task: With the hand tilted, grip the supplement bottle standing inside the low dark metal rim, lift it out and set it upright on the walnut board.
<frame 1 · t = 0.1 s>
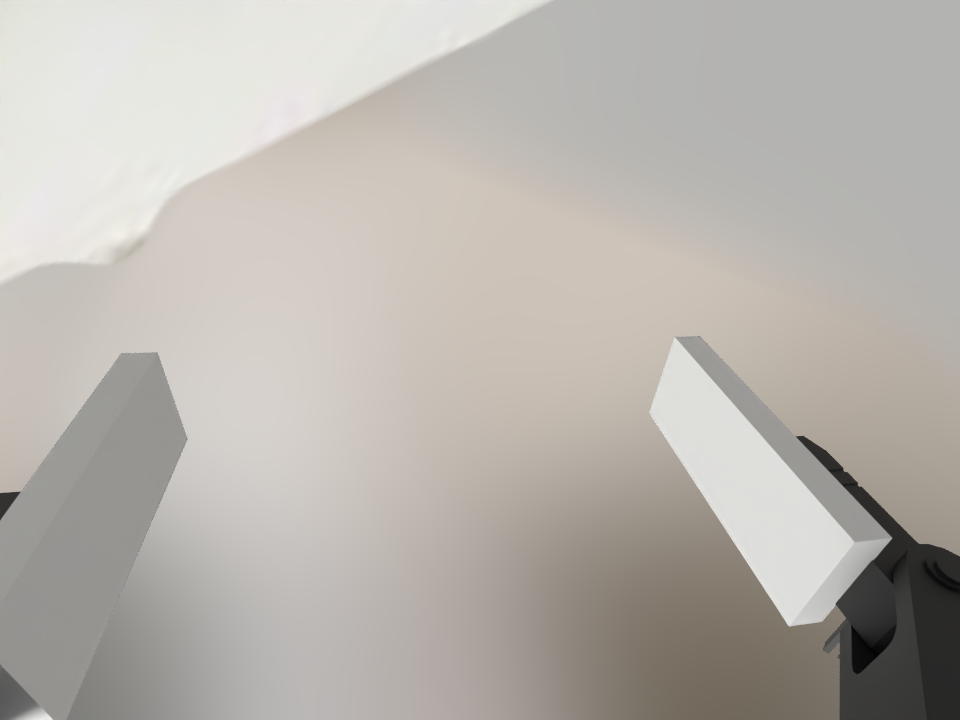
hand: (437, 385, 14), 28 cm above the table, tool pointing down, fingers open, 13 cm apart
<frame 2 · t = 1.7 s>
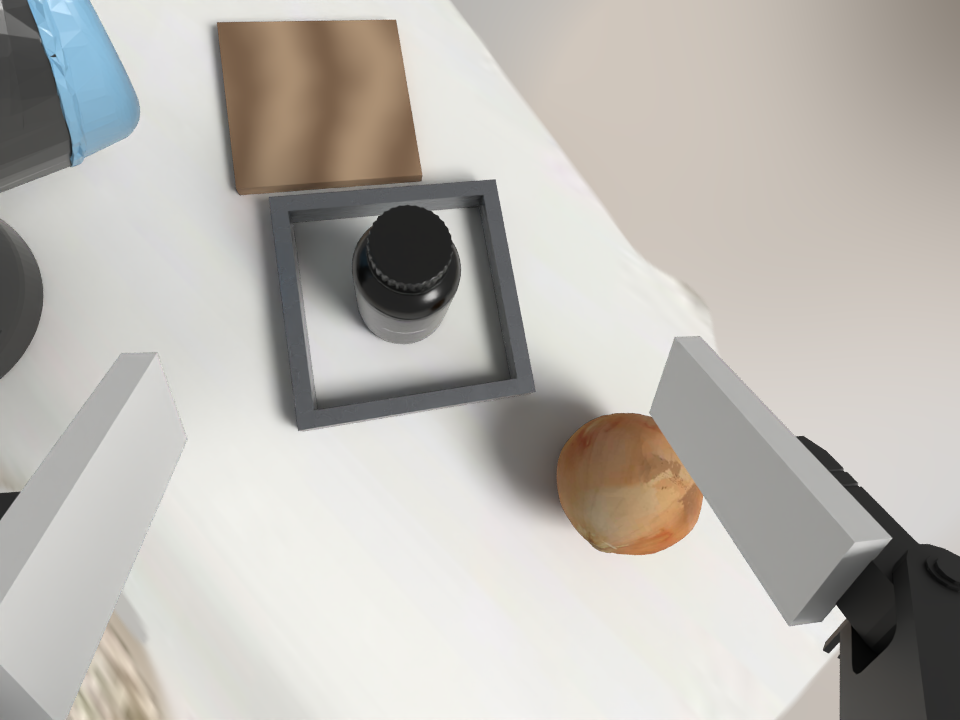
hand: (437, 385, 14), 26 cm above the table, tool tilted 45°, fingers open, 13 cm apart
supplement bottle: (403, 303, 40), resting in metal rim
metal rim: (403, 303, 40), on the table
onion: (598, 477, 40), on the table
walnut board: (322, 107, 41), on the table
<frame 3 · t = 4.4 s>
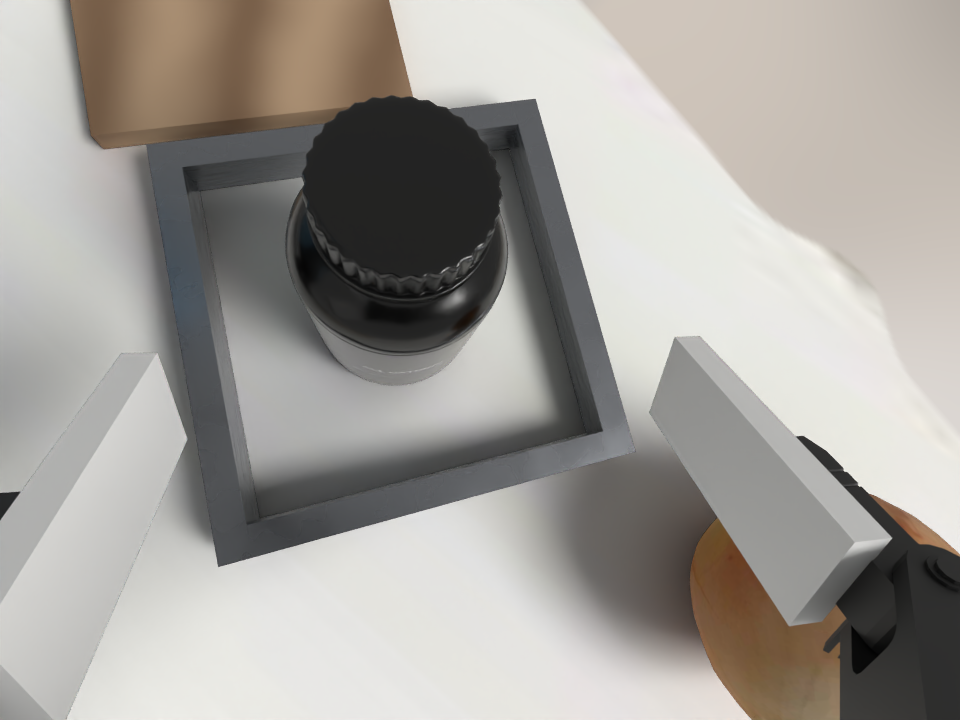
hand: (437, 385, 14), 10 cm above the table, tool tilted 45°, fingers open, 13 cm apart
supplement bottle: (397, 315, 24), resting in metal rim
metal rim: (397, 314, 24), on the table
onion: (740, 581, 24), on the table
walnut board: (240, 1, 25), on the table
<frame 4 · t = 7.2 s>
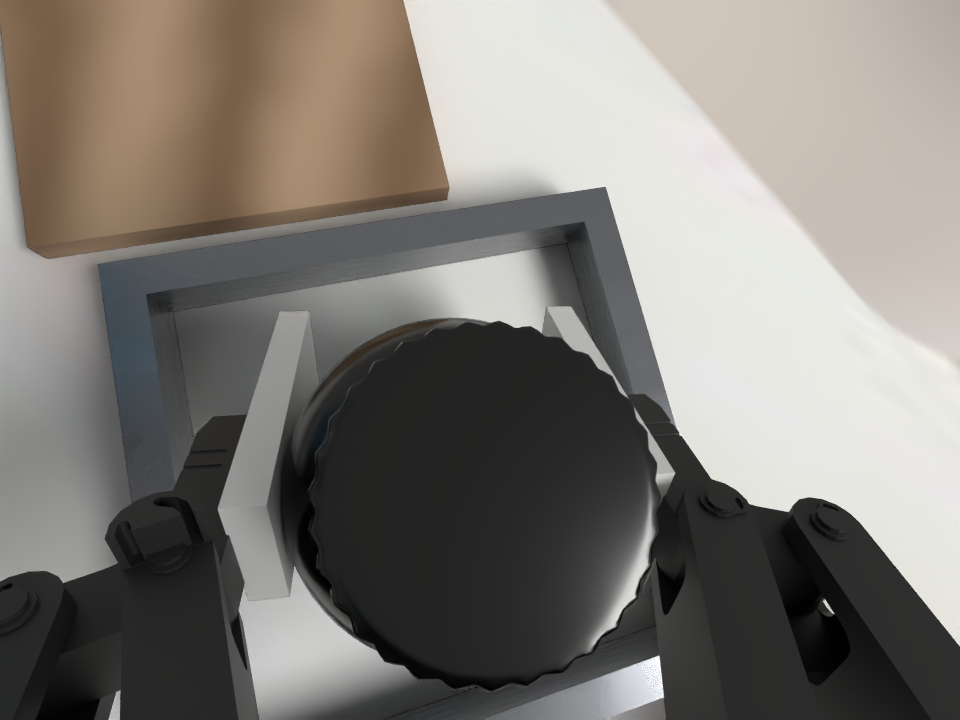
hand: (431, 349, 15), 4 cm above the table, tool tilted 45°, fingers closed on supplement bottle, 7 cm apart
supplement bottle: (428, 469, 18), resting in metal rim, touching gripper
metal rim: (428, 469, 18), on the table
walnut board: (230, 59, 20), on the table
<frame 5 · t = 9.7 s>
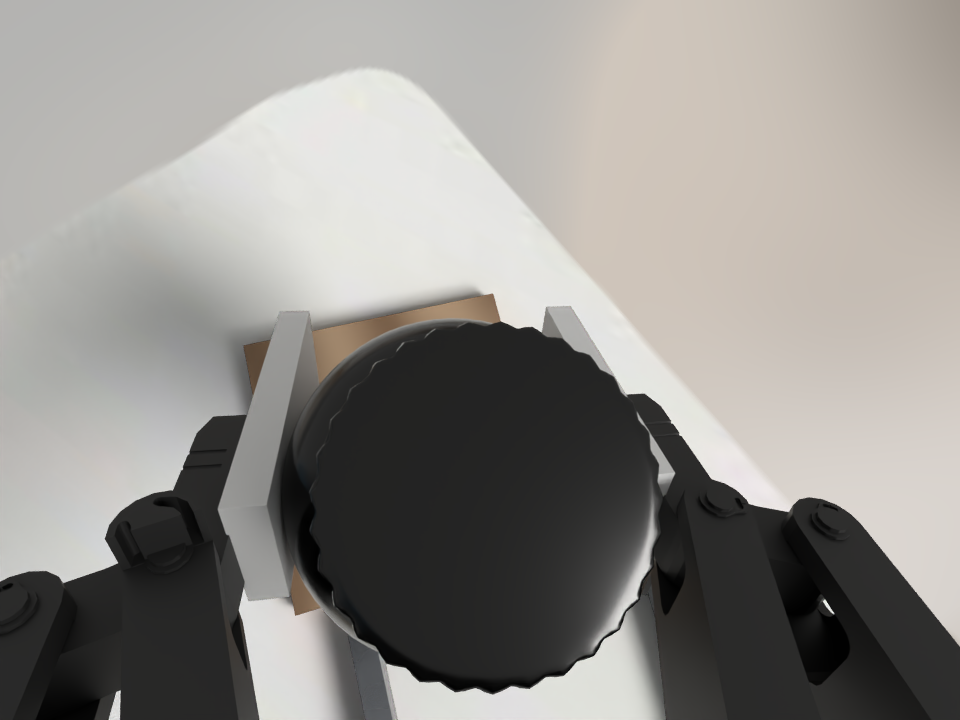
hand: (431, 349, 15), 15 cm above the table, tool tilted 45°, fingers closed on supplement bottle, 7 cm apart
supplement bottle: (428, 469, 18), point 10 cm above the table, touching gripper
walnut board: (402, 441, 29), on the table
when the fingers open (6 cm above the table, at t = 12.5 s): supplement bottle drops 1 cm, resting on walnut board.
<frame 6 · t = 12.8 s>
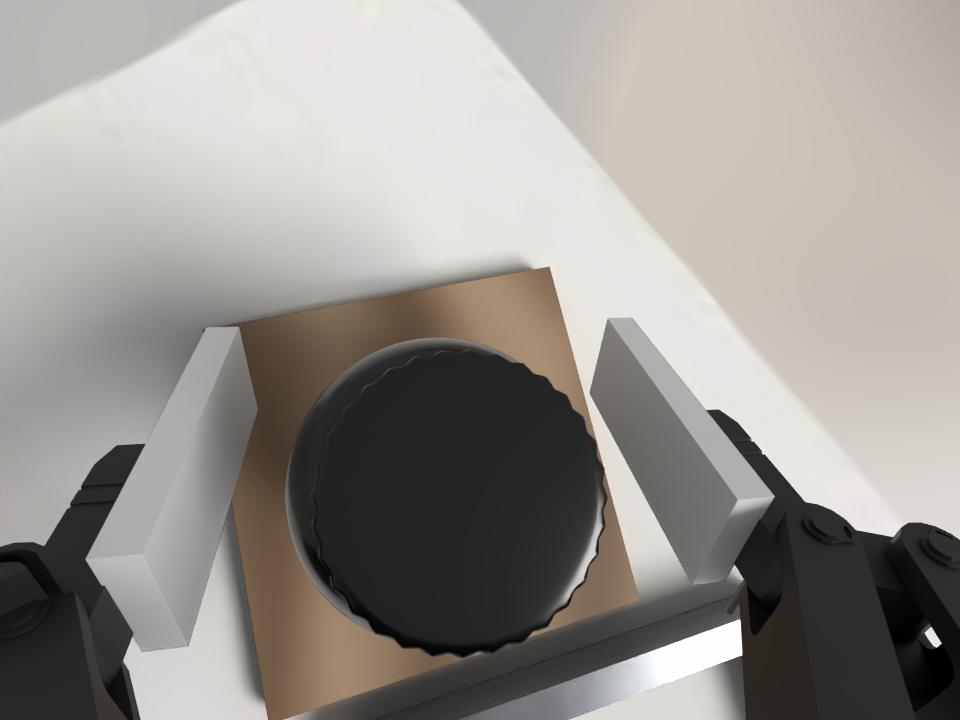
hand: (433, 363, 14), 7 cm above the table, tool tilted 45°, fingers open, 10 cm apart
supplement bottle: (420, 469, 20), point 1 cm above the table, touching walnut board
walnut board: (424, 467, 21), on the table
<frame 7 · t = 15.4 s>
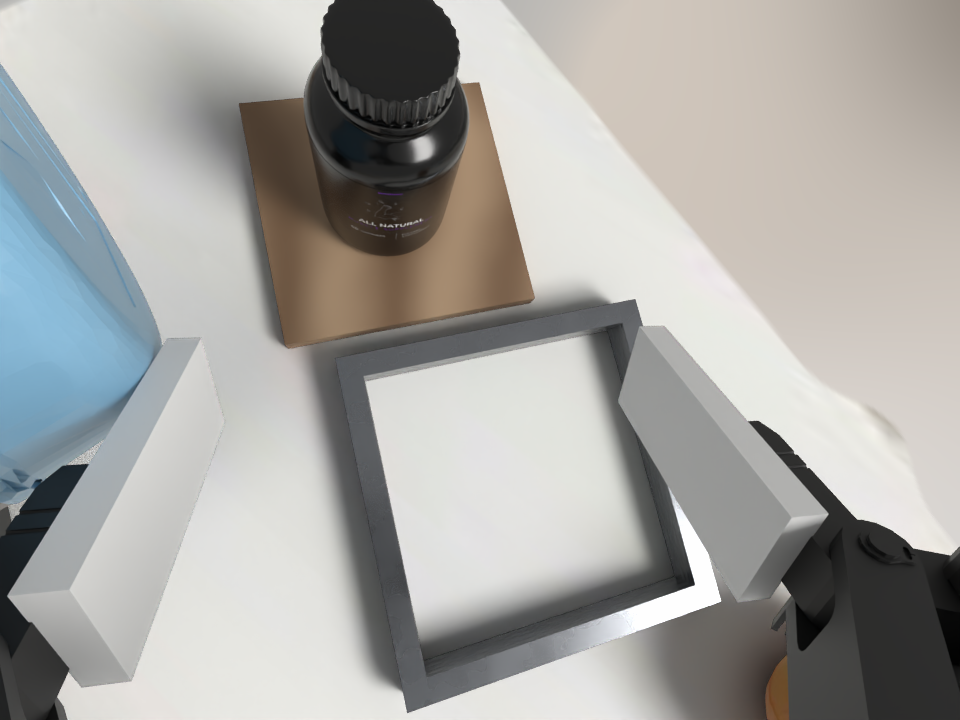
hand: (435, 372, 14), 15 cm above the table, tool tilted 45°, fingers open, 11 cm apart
supplement bottle: (386, 205, 29), point 1 cm above the table, touching walnut board
metal rim: (523, 481, 29), on the table
onion: (798, 697, 30), on the table
walnut board: (389, 210, 30), on the table
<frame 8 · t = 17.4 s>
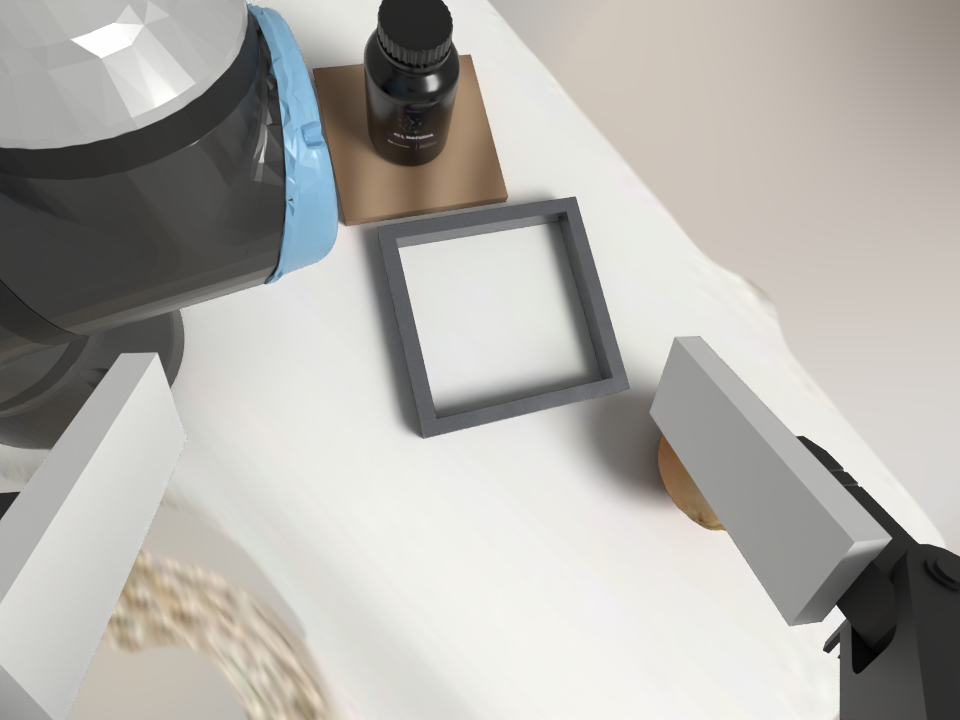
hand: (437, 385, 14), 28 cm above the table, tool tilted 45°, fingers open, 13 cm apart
supplement bottle: (408, 134, 44), point 1 cm above the table, touching walnut board
metal rim: (500, 315, 43), on the table
onion: (688, 464, 44), on the table
walnut board: (410, 140, 45), on the table
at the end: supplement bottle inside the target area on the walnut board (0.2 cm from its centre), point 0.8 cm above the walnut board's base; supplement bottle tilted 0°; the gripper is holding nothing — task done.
